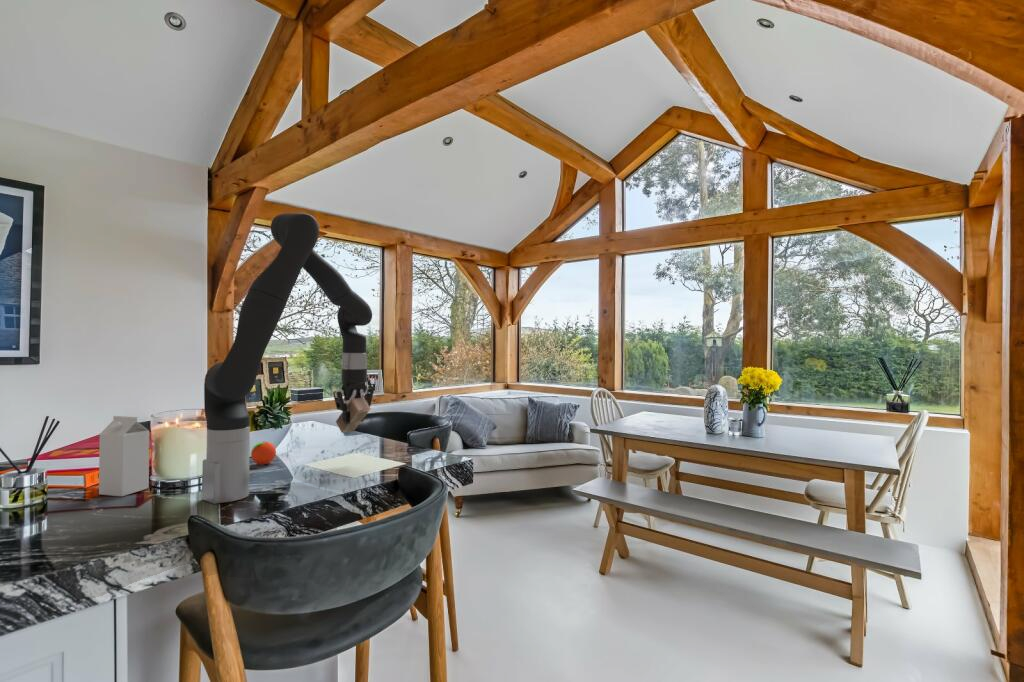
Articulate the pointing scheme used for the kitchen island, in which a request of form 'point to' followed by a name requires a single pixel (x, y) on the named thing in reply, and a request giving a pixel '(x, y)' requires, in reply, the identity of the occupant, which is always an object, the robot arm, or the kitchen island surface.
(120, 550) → the kitchen island surface
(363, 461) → the cream flat board
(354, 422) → the walnut block
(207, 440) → the robot arm
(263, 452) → the clementine
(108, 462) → the milk carton
